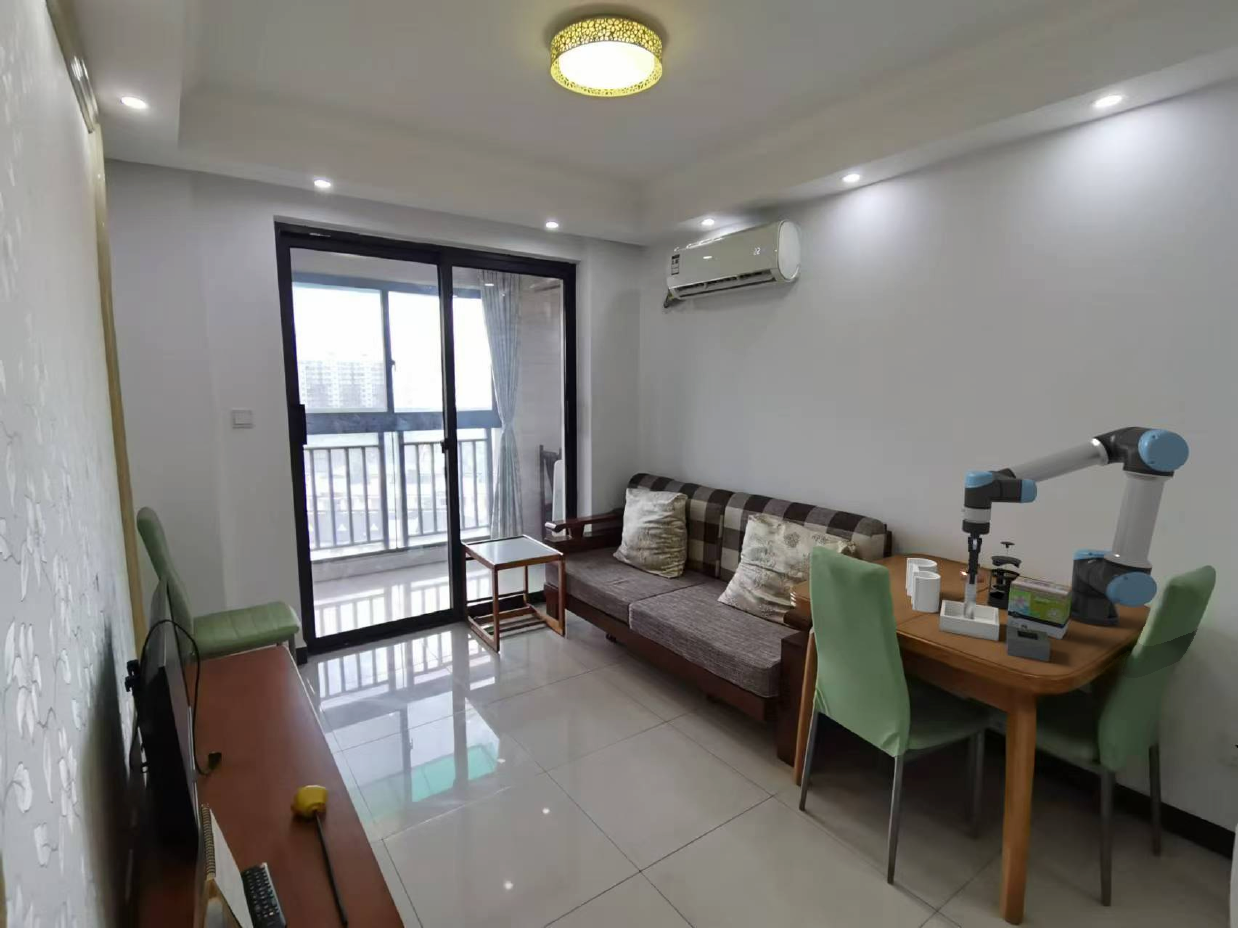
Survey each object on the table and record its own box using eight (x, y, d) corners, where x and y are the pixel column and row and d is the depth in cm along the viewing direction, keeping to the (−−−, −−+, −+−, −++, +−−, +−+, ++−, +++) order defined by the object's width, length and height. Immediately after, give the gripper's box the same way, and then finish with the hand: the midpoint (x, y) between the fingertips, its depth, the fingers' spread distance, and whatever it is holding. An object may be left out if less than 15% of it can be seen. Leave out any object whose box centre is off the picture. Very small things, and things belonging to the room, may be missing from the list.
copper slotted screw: (956, 612, 199) (960, 565, 197) (981, 616, 195) (985, 568, 193) (956, 619, 193) (959, 571, 191) (981, 623, 189) (985, 574, 187)
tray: (996, 622, 197) (997, 608, 196) (998, 641, 184) (999, 625, 183) (941, 613, 205) (942, 599, 205) (939, 630, 192) (940, 615, 191)
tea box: (1005, 626, 194) (1009, 582, 192) (1013, 617, 201) (1017, 575, 199) (1062, 640, 184) (1066, 594, 182) (1068, 630, 191) (1073, 586, 189)
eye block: (1045, 648, 178) (1046, 632, 178) (1048, 662, 170) (1050, 645, 169) (1005, 641, 183) (1006, 625, 183) (1006, 654, 175) (1008, 638, 174)
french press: (1022, 612, 205) (1028, 547, 202) (991, 609, 208) (996, 545, 205) (1012, 600, 216) (1017, 538, 213) (982, 597, 219) (987, 536, 216)
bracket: (942, 614, 205) (944, 580, 203) (910, 610, 208) (912, 577, 207) (933, 590, 228) (935, 559, 226) (905, 587, 231) (907, 557, 230)
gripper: (963, 512, 200) (958, 578, 203) (962, 525, 183) (956, 597, 186) (989, 515, 196) (984, 582, 199) (990, 528, 179) (985, 601, 182)
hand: (971, 589), depth 193 cm, fingers closed on copper slotted screw, 7 cm apart
